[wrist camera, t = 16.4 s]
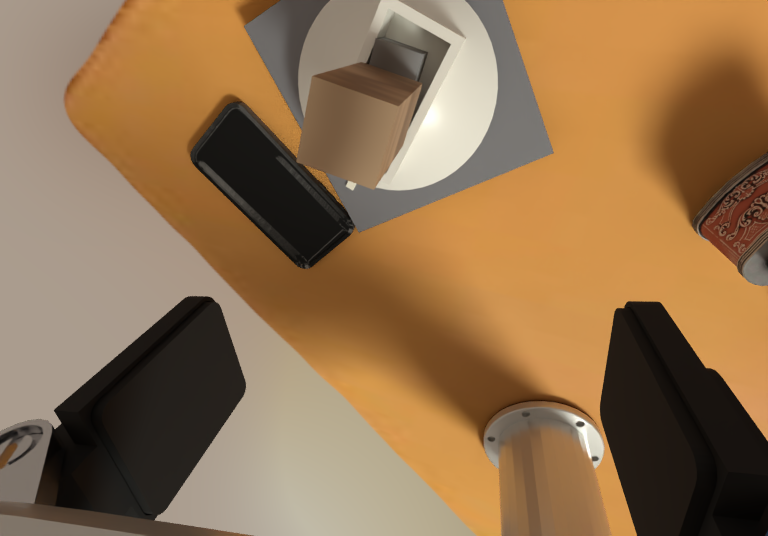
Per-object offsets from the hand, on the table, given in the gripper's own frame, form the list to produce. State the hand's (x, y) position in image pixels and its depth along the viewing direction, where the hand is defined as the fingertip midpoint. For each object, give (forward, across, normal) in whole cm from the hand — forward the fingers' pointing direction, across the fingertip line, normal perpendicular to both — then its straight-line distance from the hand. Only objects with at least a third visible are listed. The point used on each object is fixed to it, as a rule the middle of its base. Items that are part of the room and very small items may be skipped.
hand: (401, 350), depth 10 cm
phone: (+28, +17, +4) cm, 33 cm away
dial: (+25, +4, -4) cm, 26 cm away
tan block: (+23, +4, -4) cm, 24 cm away
